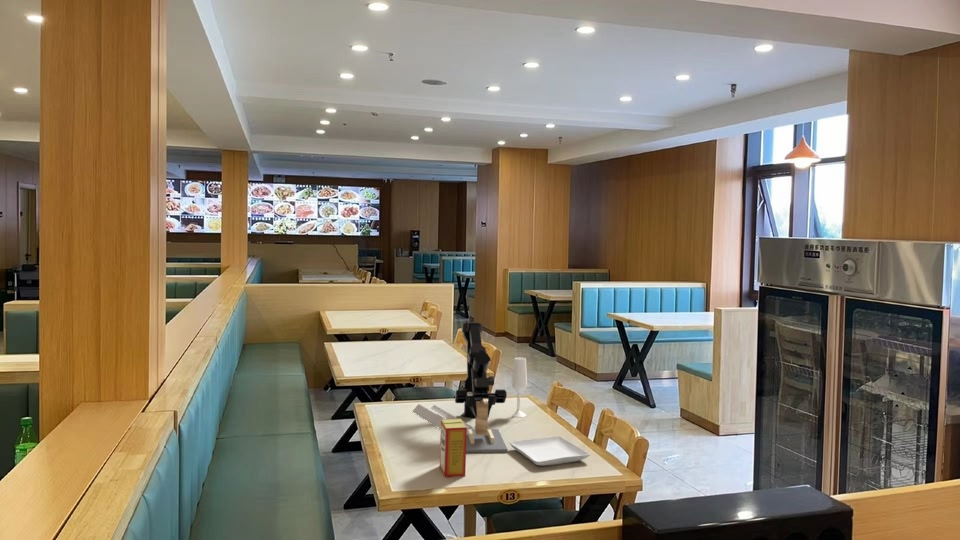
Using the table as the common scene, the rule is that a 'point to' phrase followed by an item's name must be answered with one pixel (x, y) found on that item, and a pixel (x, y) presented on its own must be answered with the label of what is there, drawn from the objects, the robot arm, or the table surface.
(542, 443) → the salad plate
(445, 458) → the baking soda box
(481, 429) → the wooden board
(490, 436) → the groove board
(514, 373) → the champagne flute
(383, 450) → the table surface
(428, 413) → the crown molding
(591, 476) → the table surface
